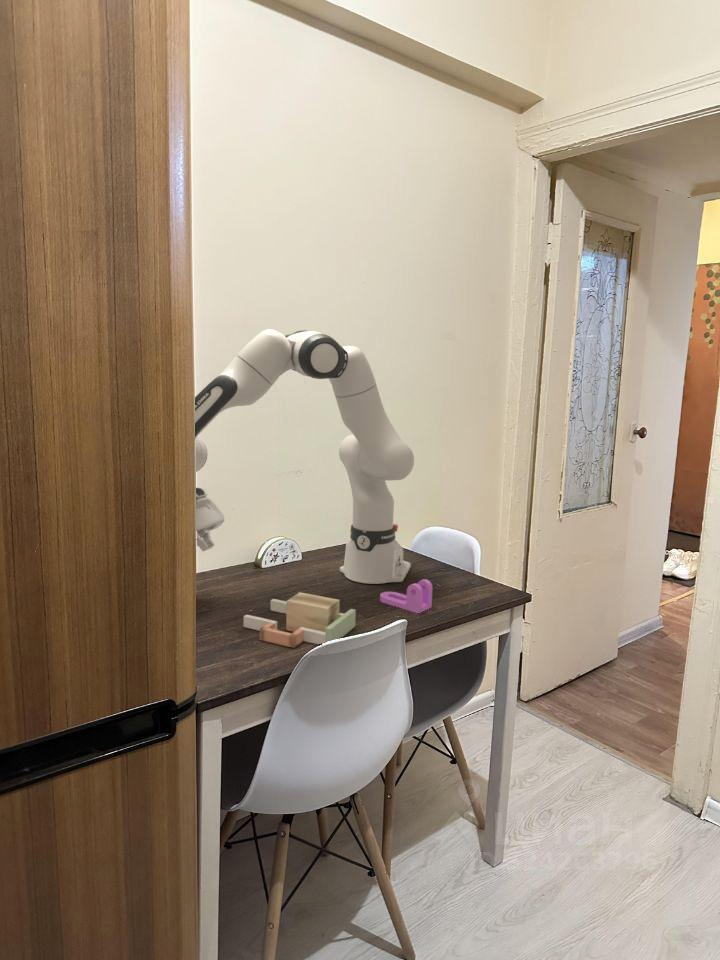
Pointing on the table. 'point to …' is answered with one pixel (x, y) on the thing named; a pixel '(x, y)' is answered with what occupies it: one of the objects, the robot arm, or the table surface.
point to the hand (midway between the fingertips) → (209, 548)
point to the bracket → (411, 597)
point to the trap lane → (302, 634)
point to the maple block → (311, 612)
